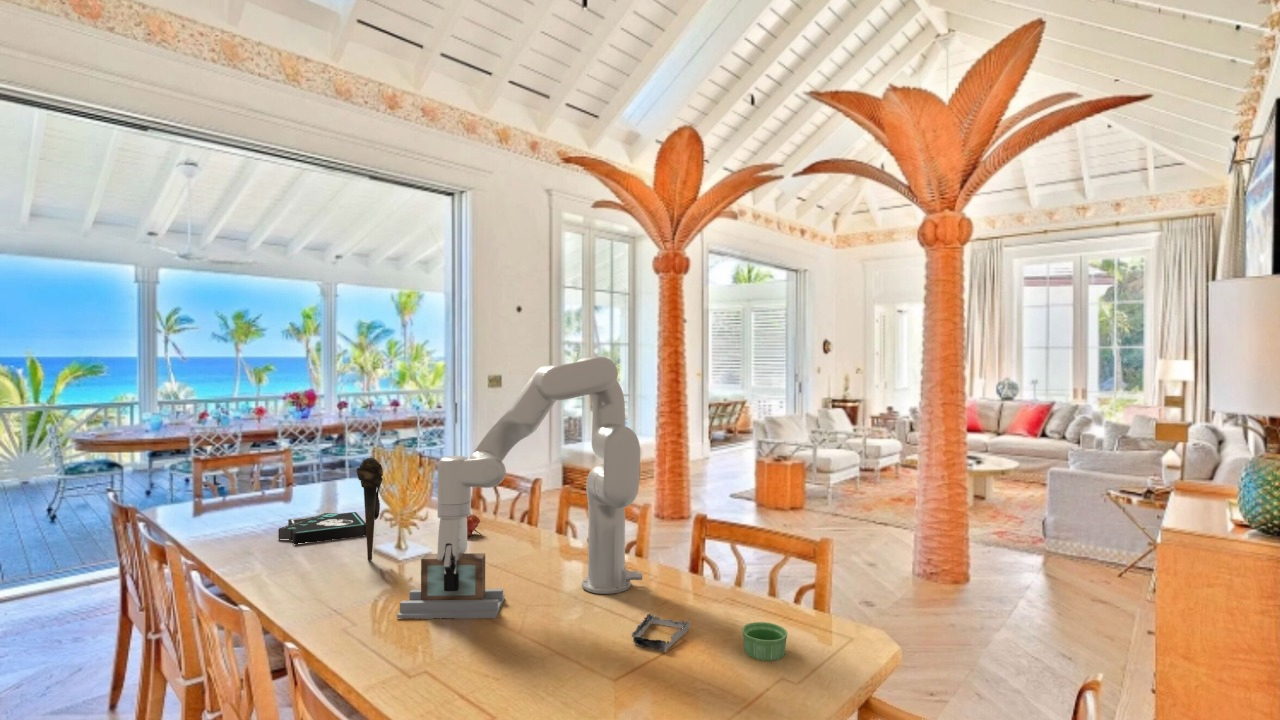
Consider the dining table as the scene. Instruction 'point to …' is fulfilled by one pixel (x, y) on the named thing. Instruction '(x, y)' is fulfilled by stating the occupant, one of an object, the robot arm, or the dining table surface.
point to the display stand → (452, 606)
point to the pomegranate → (472, 524)
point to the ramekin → (764, 641)
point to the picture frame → (469, 578)
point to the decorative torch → (370, 496)
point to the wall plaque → (323, 527)
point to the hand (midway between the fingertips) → (453, 586)
